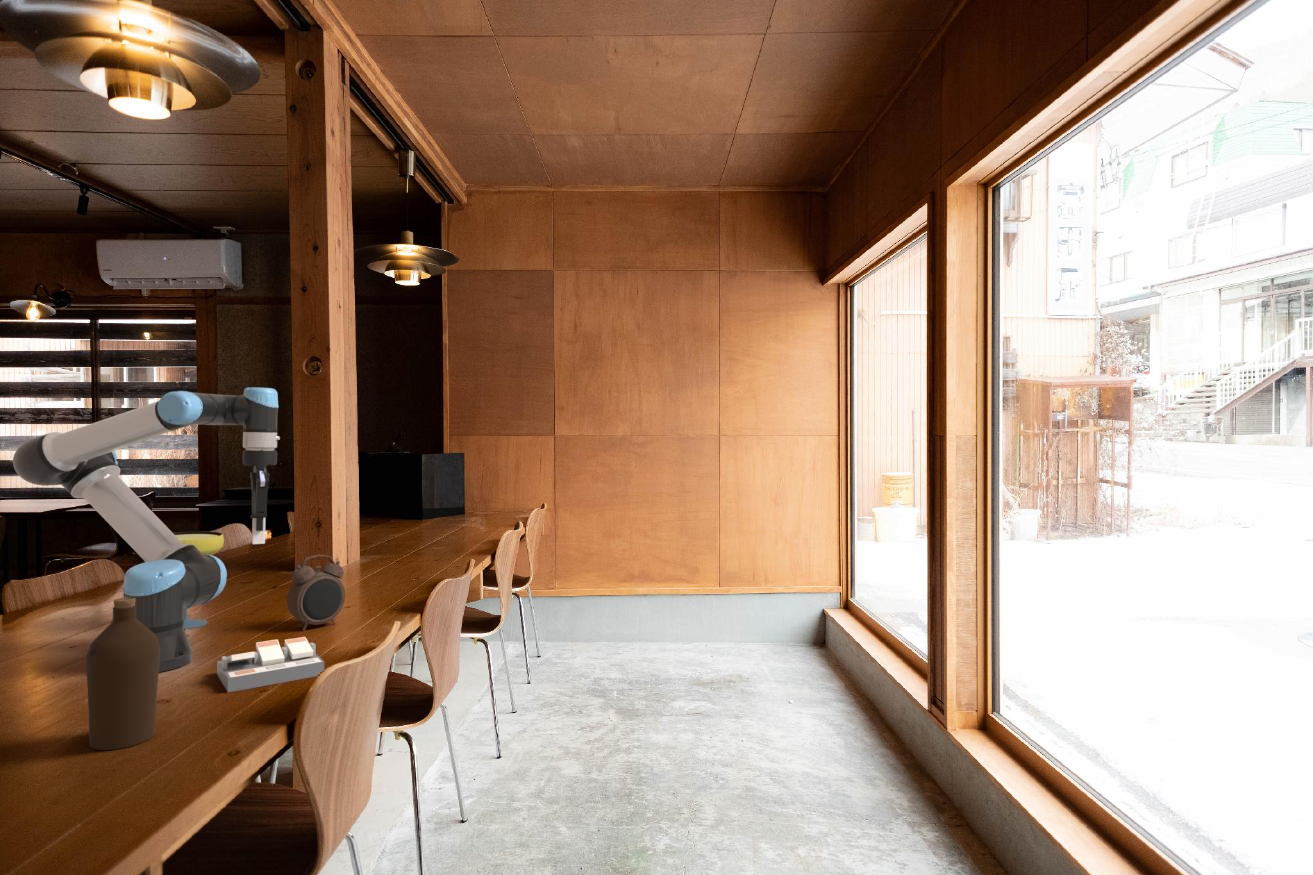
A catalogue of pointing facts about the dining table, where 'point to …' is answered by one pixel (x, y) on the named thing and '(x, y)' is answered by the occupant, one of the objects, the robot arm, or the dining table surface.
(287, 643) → the right switch
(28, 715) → the dining table surface
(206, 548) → the cocktail glass
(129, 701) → the olive oil
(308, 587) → the alarm clock
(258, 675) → the switch unit
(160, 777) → the dining table surface
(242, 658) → the left switch
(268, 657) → the middle switch
